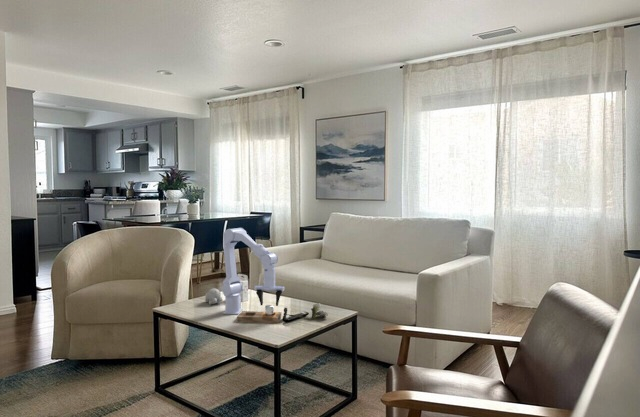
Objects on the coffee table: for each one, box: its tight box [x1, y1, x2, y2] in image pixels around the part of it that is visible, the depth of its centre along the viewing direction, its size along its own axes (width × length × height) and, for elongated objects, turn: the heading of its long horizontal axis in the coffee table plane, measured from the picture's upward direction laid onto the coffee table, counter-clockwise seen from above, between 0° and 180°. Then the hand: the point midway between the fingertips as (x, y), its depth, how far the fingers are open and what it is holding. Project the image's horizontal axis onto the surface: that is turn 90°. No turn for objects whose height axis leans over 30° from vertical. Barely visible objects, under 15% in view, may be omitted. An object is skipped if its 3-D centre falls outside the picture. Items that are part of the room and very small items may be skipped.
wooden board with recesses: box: [236, 310, 282, 324], centre depth 223 cm, size 10×20×3 cm, turn 84°
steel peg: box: [264, 304, 275, 316], centre depth 222 cm, size 4×4×7 cm
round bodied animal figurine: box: [204, 287, 223, 306], centre depth 254 cm, size 7×12×8 cm, turn 47°
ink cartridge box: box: [232, 273, 249, 303], centre depth 261 cm, size 9×5×15 cm, turn 58°
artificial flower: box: [282, 303, 329, 321], centre depth 225 cm, size 9×22×10 cm, turn 99°
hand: (269, 305), depth 222 cm, fingers open, 7 cm apart
